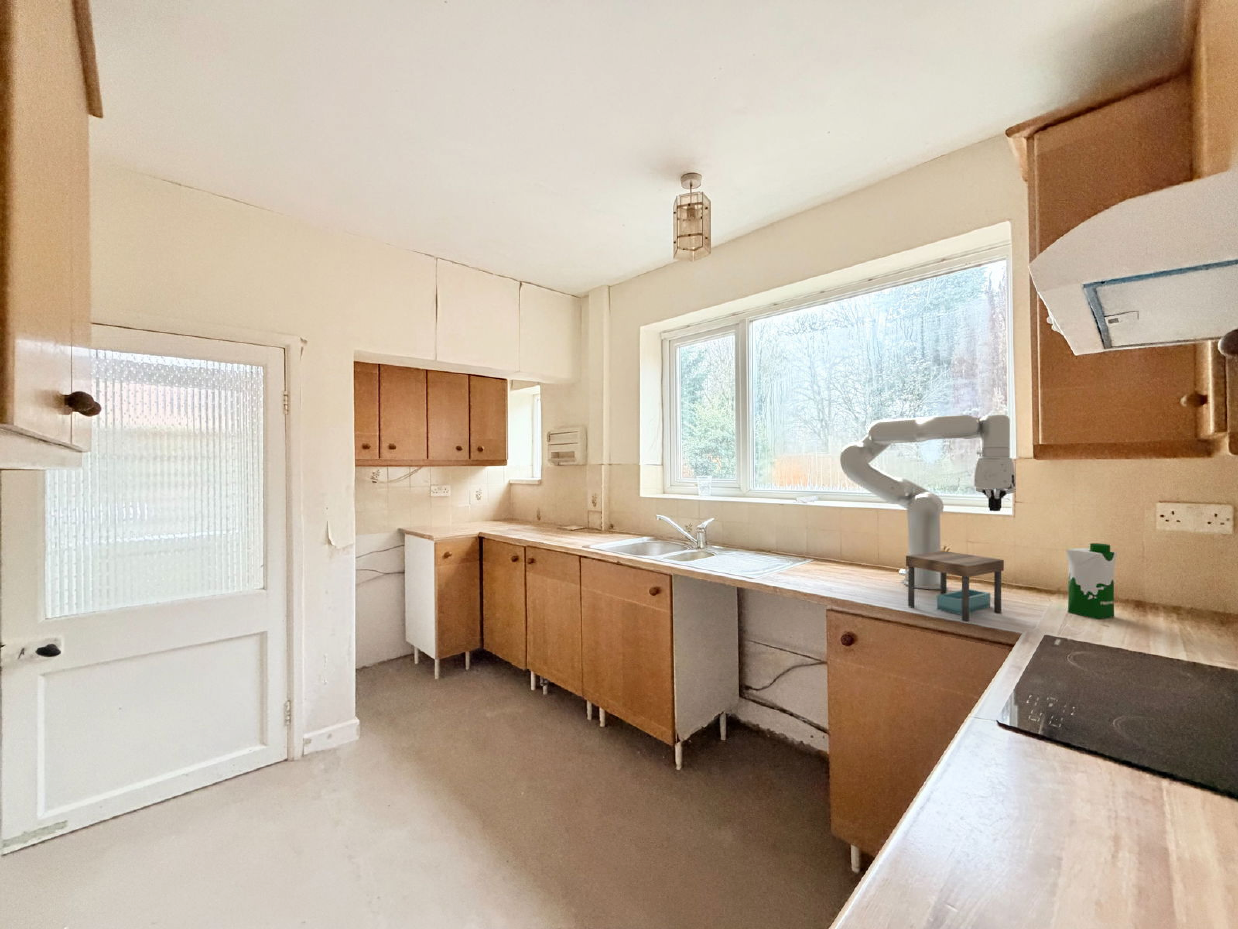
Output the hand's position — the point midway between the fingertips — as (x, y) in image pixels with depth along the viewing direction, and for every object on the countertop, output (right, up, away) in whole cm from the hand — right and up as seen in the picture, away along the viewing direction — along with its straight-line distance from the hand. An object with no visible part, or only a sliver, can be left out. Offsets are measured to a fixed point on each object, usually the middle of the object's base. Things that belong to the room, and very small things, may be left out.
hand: (994, 510), depth 164 cm
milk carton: (+11, -27, -21) cm, 36 cm away
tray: (-20, -27, -15) cm, 37 cm away
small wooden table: (-24, -27, -16) cm, 40 cm away
